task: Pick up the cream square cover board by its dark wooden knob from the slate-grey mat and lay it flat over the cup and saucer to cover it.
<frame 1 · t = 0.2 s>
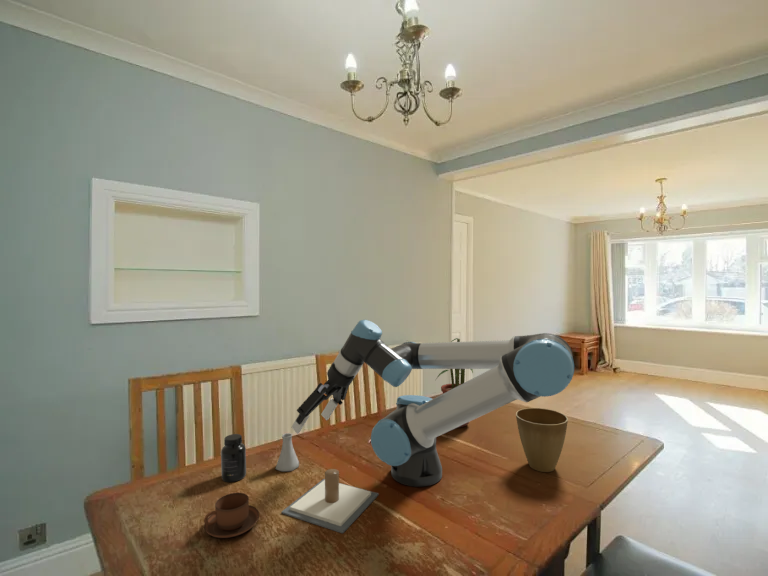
hand: (310, 423, 117), 15 cm above the table, tool tilted 35°, fingers open, 13 cm apart
potted plant: (453, 423, 159), on the table
supplement bottle: (233, 477, 115), on the table
flask: (287, 467, 122), on the table
plant pot: (541, 467, 121), on the table
cover board: (331, 487, 101), on the mat
mat: (332, 503, 101), on the table
cup and saucer: (232, 527, 92), on the table
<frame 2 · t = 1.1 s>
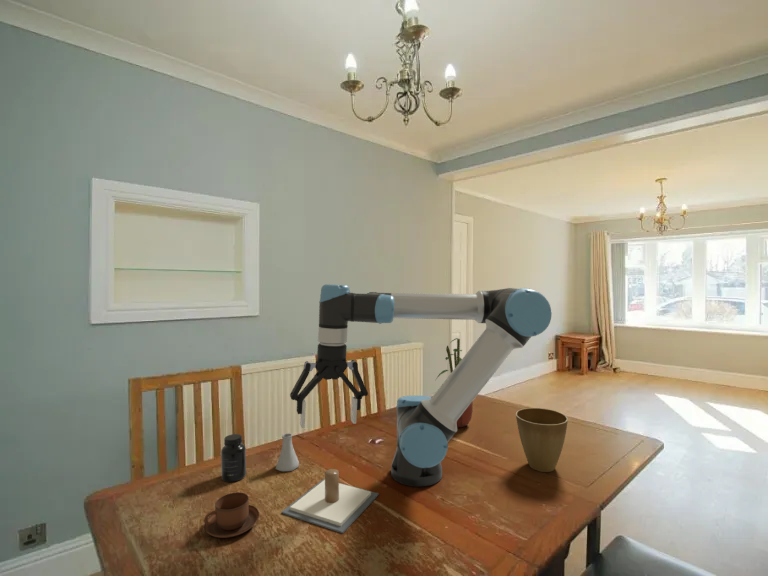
hand: (328, 424, 103), 20 cm above the table, tool pointing down, fingers open, 13 cm apart
nothing on the table moved.
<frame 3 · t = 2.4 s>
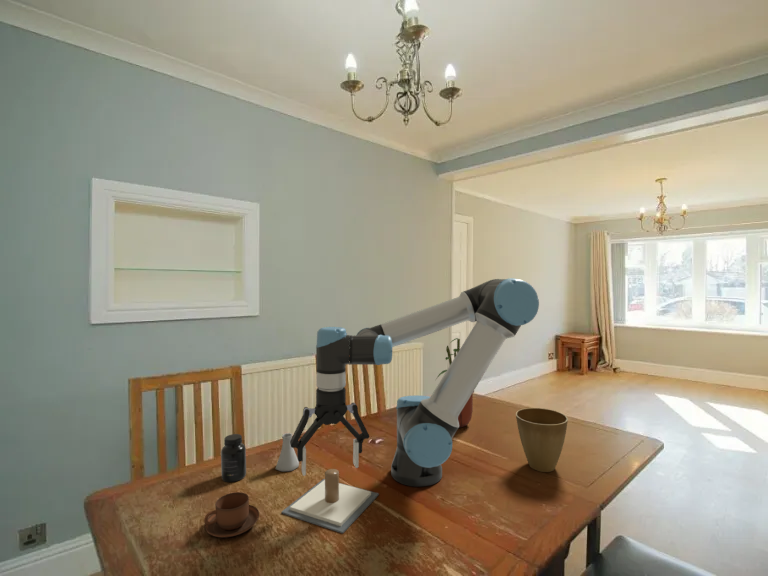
hand: (330, 469, 101), 9 cm above the table, tool pointing down, fingers open, 13 cm apart
nothing on the table moved.
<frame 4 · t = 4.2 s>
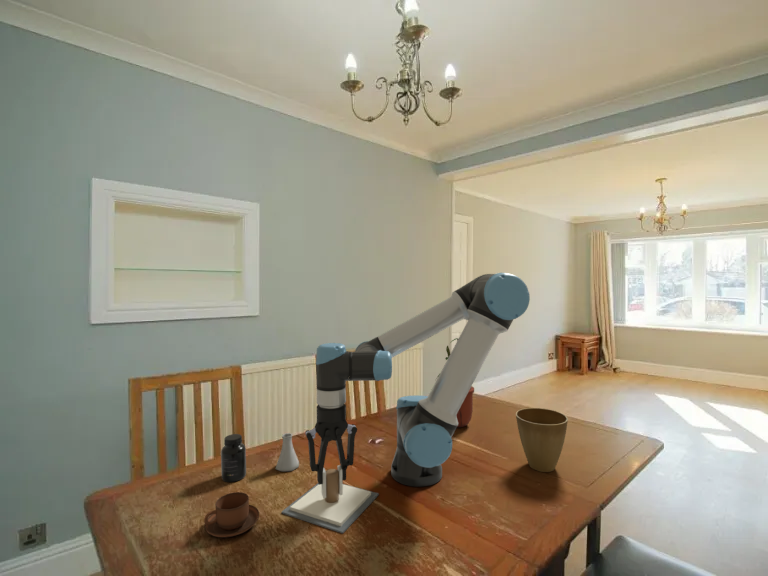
hand: (332, 493, 101), 3 cm above the table, tool pointing down, fingers closed on cover board, 3 cm apart
cover board: (331, 487, 101), on the mat, touching gripper
everything else where it was.
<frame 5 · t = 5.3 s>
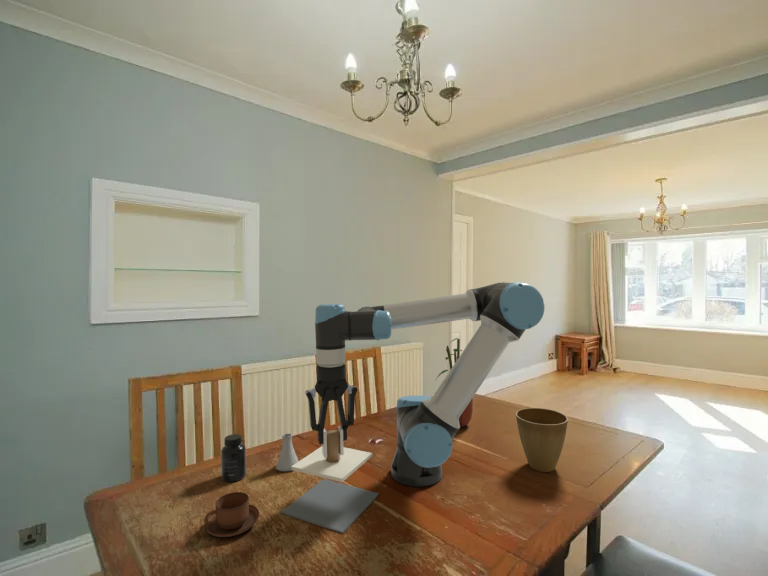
hand: (333, 453, 101), 13 cm above the table, tool pointing down, fingers closed on cover board, 3 cm apart
cover board: (332, 447, 101), point 15 cm above the table, touching gripper
everything else where it was.
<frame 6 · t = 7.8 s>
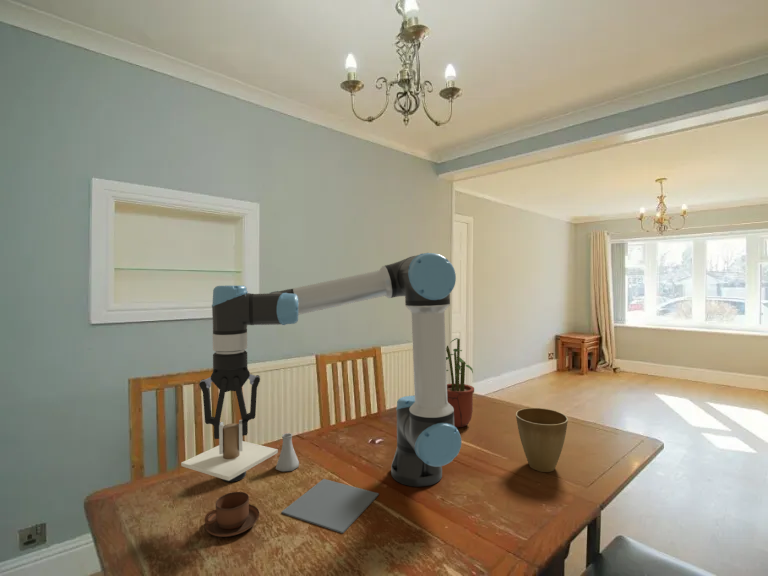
hand: (231, 450, 92), 18 cm above the table, tool pointing down, fingers closed on cover board, 3 cm apart
cover board: (231, 442, 92), point 20 cm above the table, touching gripper
everything else where it was.
when the fingers open (10 cm above the table, at t = 9.8 s): cover board drops 1 cm, point 10 cm above the table.
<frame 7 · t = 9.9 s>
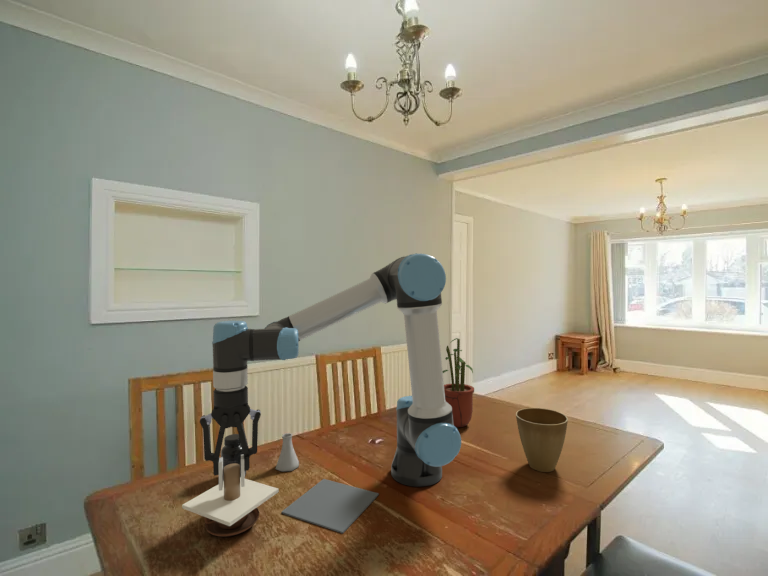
hand: (232, 485, 92), 10 cm above the table, tool pointing down, fingers open, 4 cm apart
cover board: (232, 483, 92), point 10 cm above the table
everything else where it was.
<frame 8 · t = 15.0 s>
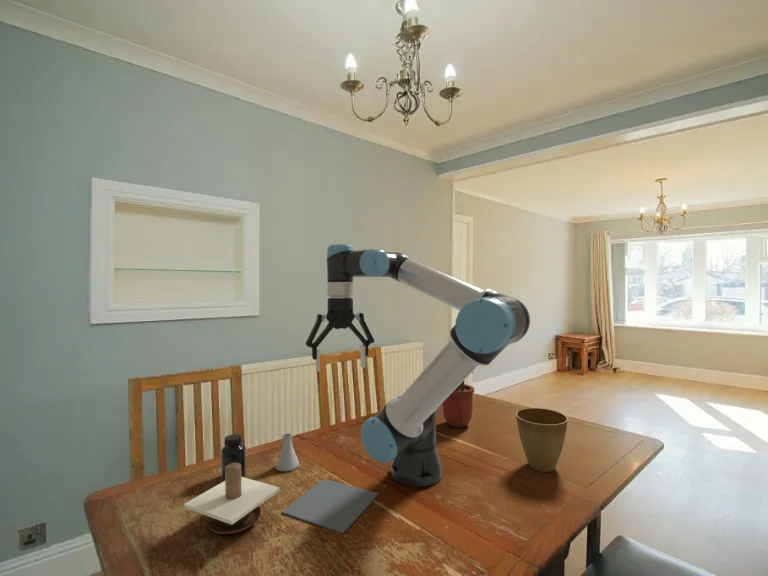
hand: (340, 368, 116), 32 cm above the table, tool pointing down, fingers open, 13 cm apart
at the end: cover board 0.4 cm from the cup and saucer (horizontally); cover board point 9.8 cm above the table; cover board tilted 0° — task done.
